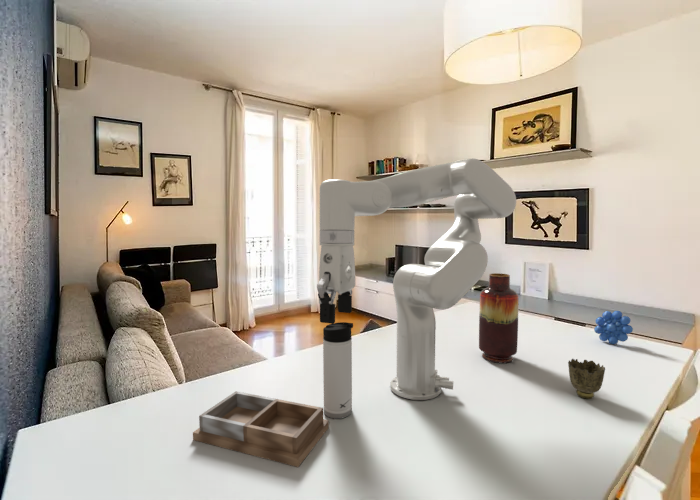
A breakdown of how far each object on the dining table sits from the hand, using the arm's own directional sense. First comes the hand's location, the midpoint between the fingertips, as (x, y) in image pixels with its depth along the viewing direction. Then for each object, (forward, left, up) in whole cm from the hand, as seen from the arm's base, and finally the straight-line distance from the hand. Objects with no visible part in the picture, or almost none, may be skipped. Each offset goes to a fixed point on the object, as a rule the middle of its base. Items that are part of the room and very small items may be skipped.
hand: (336, 317), depth 79 cm
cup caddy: (+11, +13, -21) cm, 27 cm away
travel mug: (0, 0, -22) cm, 22 cm away
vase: (-34, -47, -22) cm, 62 cm away
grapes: (-72, -75, -22) cm, 107 cm away
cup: (-53, -27, -22) cm, 64 cm away
